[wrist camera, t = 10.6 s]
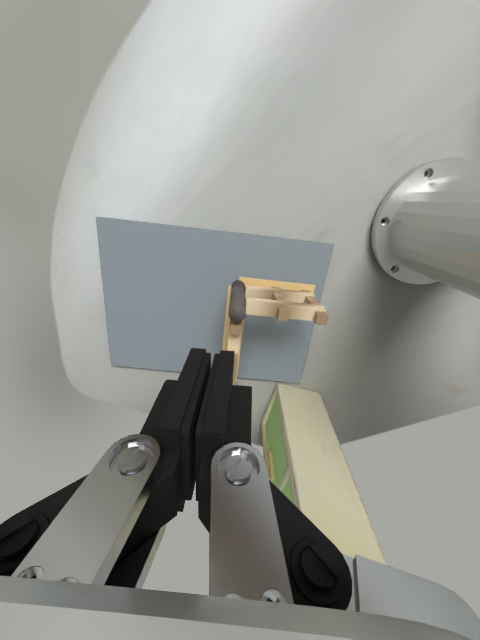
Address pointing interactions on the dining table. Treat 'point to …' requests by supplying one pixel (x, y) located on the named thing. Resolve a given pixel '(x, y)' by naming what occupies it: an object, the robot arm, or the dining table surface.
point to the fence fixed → (274, 304)
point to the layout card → (203, 295)
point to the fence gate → (234, 343)
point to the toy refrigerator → (315, 470)
